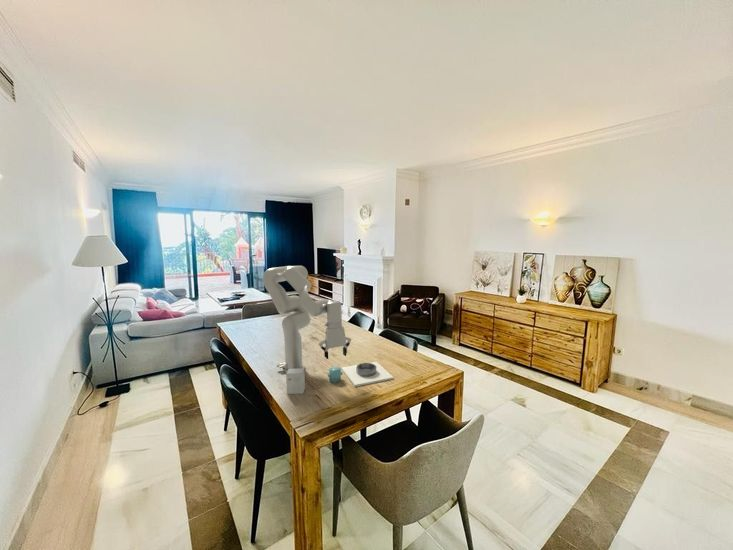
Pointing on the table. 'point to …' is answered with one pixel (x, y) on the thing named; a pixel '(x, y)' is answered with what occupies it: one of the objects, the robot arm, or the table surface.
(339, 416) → the table surface
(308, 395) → the table surface
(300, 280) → the robot arm
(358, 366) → the dark grey round dish
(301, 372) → the small box
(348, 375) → the mount plate
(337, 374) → the teal bumpy cylinder
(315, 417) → the table surface
